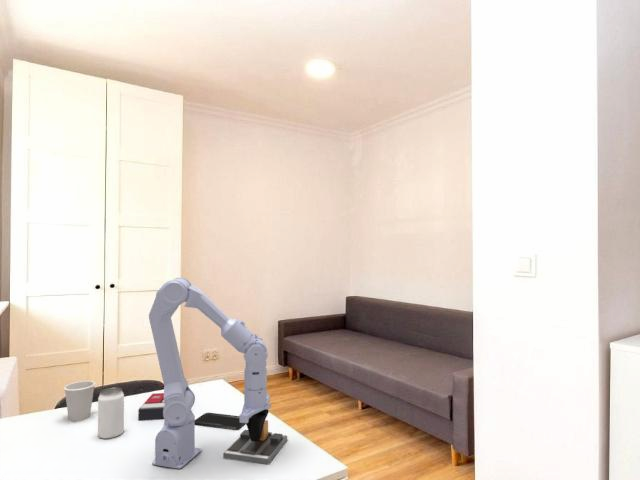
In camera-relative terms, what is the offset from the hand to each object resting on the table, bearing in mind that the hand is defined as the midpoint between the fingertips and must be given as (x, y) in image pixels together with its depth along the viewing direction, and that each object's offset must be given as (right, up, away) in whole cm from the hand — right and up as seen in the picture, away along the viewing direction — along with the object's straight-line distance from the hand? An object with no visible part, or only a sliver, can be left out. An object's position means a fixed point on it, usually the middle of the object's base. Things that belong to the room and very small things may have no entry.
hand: (255, 440), depth 105 cm
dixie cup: (-57, -4, +21) cm, 61 cm away
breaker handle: (+1, -1, +3) cm, 4 cm away
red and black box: (-34, -4, +27) cm, 43 cm away
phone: (-13, -4, +17) cm, 22 cm away
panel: (0, -2, 0) cm, 2 cm away
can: (-42, -3, +9) cm, 43 cm away
